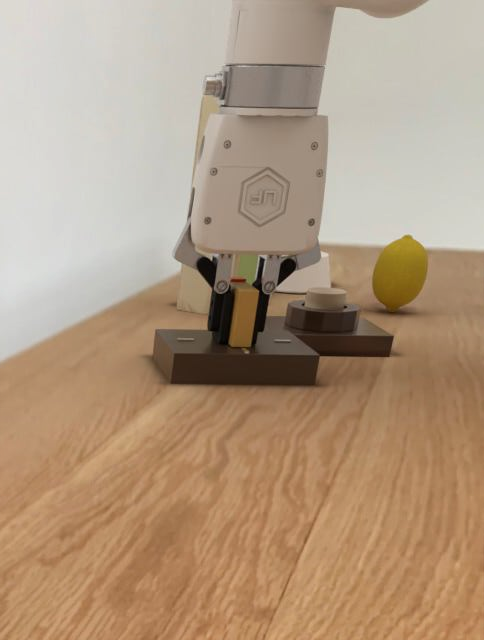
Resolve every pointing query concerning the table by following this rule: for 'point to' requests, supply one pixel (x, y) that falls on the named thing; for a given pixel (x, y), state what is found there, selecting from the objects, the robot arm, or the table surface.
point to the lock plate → (234, 359)
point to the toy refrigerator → (192, 284)
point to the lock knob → (242, 312)
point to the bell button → (325, 298)
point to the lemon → (400, 273)
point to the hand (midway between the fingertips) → (233, 339)
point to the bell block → (333, 330)
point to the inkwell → (308, 277)
